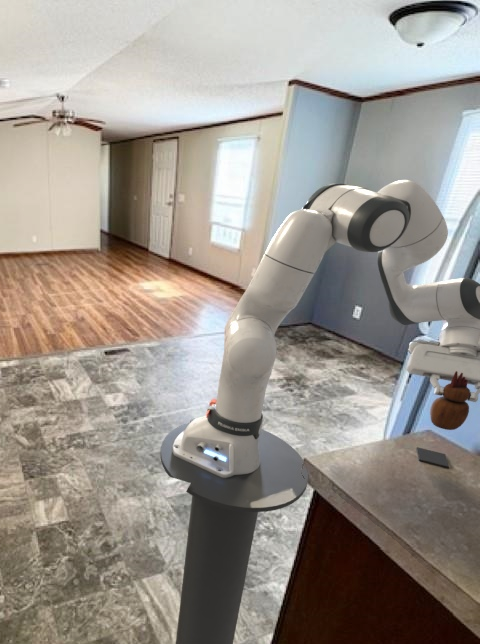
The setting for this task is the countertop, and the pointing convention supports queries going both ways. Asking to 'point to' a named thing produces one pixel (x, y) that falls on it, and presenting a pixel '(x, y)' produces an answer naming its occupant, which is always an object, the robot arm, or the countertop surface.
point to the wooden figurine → (451, 405)
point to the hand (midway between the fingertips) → (455, 397)
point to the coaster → (432, 457)
